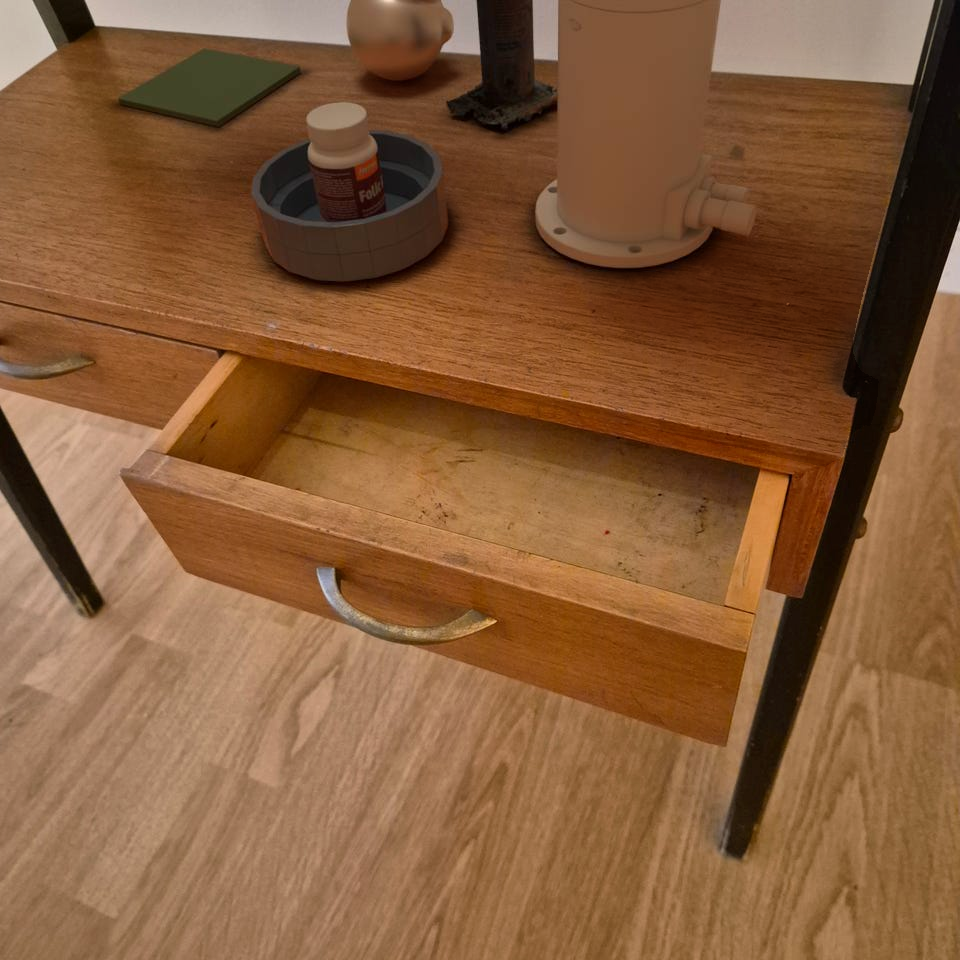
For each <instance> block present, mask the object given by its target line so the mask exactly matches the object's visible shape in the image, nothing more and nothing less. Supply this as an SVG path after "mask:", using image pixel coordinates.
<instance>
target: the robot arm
mask: <svg viewBox="0 0 960 960" xmlns="http://www.w3.org/2000/svg"><path fill="white" fill-rule="evenodd" d="M721 1H722V0H557V89H558V104H557V118H556V119H557V121H556V122H557V127H556V128H557V129H556V131H557V134H556V137H557V138H556V139H557V141H556V142H557V144H556V161H557V162H556V178H555V180H553V181H552V182H551V183H549V184H547V186H545V188H544V189H543V190H542V191H541V193H540V194H539V195H538V198H537V200H536V202H535V211H534V214H535V215H534V219H535V227H536V230H537V231H538V234H539V236H540V237H541V238H542V239H543V241H544V242H545V243H546V244H547V245H548V246H550V247H551V248H552V249H553V250H555V251H557V252H558V253H560V254H562V255H564V256H566V257H568V258H569V259H572V260H575V261H577V262H581V263H584V264H586V265H593V266H598V267H602V268H611V269H613V268H614V269H640V268H647V267H656V266H659V265H664V264H667V263H670V262H674V261H676V260H679V259H680V258H683V257H685V256H687V255H689V254H691V253H692V252H694V251H696V250H697V249H698V248H700V247H701V246H703V244H704V243H705V242H706V241H707V240H708V239H709V236H710V235H711V234H712V231H713V230H714V228H716V229H720V230H721V231H725V232H729V233H733V234H738V235H743V236H746V237H748V236H749V235H750V234H751V232H752V229H753V227H754V224H755V221H756V217H757V212H758V206H757V205H755V204H749V203H747V202H748V200H749V196H750V195H749V194H750V188H749V187H746V186H741V185H735V184H725V183H720V182H717V178H715V177H713V176H711V172H712V171H711V170H712V164H713V158H714V157H713V155H711V154H705V153H702V152H701V151H702V145H703V137H704V129H705V122H706V116H707V115H706V113H707V109H708V108H707V107H708V99H709V93H710V85H711V78H712V70H713V61H714V55H715V47H716V39H717V32H718V25H719V17H720V9H721Z"/></svg>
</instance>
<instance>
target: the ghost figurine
mask: <svg viewBox="0 0 960 960" xmlns="http://www.w3.org/2000/svg"><path fill="white" fill-rule="evenodd" d="M345 25H346V34H347V38H348V42H349V45H350V47H351V50H352V52H353V54H354V55H355V57H356V58H357V60H358V61H359V62H360V64H361V65H362V66H363V67H364V68H365V69H367V70H368V71H369V72H370V73H372V74H373V75H376V76H377V77H379V78H381V79H385V80H388V81H395V82H396V81H397V82H400V81H402V82H403V81H408V80H412V79H415V78H417V77H419V76H420V75H422V74H424V73H425V72H426V71H428V70H429V69H430V68H431V66H432V65H433V64H434V62H435V61H436V60H437V58H438V56H439V55H440V53H441V51H442V48H443V46H444V45H445V44H446V43H447V42H449V41H450V40H451V38H452V37H453V35H454V30H455V27H454V25H455V24H454V17H453V15H452V13H451V11H450V10H449V9H447V8H446V7H445V6H444V4H443V2H442V0H350V1H349V4H348V8H347V12H346V24H345Z"/></svg>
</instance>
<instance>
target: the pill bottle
mask: <svg viewBox="0 0 960 960" xmlns="http://www.w3.org/2000/svg"><path fill="white" fill-rule="evenodd" d="M305 123H306V127H307V134H308V139H310V141H311V143H310V145H309V148H308V160H309V164H310V169H311V173H312V178H313V182H314V187H315V191H316V196H317V201H318V205H319V211H320V215H321V220H322V222H342V221H350V220H359V219H365V218H368V217H372V216H375V215H379V214H382V213H386V212H387V208H386V201H385V195H384V187H383V181H382V175H381V168H380V160H379V153H378V147H377V144H376V141H375V140H374V138H373V137H372V136H371V135H369V130H370V123H369V119H368V113H367V110H366V109H365V107H364V106H362V105H360V104H357V103H353V102H347V101H346V102H344V101H341V102H340V101H339V102H331V103H327V104H323V105H320V106H317V107H316V108H314V109H312V110H311V111H310V112H308V114H307V116H306V120H305Z"/></svg>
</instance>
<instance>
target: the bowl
mask: <svg viewBox="0 0 960 960" xmlns="http://www.w3.org/2000/svg"><path fill="white" fill-rule="evenodd" d="M369 135H371V136H372V137H373V138H374V140H375V141H376V144H377V147H378V153H379V160H380V168H381V175H382V181H383V187H384V195H385V201H386V208H387V212H386V213H382V214H379V215H375V216H372V217H368V218H365V219H359V220H350V221H342V222H322V220H321V215H320V211H319V205H318V201H317V196H316V191H315V187H314V182H313V178H312V173H311V169H310V164H309V160H308V148H309V145H310V143H311V141H310V138H306V139H303V140H301V141H299V142H297V143H294V144H292V145H290V146H287V147H285V148H283V149H281V150H280V151H278V152H277V153H276V154H274V155H272V156H271V157H270V158H268V159H267V160H266V161H264V162H263V163H262V164H261V166H260V168H259V169H258V170H257V172H256V173H255V174H254V176H253V177H252V181H251V182H252V183H251V191H250V194H251V199H252V202H253V205H254V209H255V213H256V217H257V220H258V224H259V228H260V231H261V235H262V239H263V242H264V247H265V248H266V250H267V252H268V253H269V256H270V257H271V259H272V261H273V262H274V263H276V264H278V265H279V266H280V267H282V269H285V271H287V272H289V273H291V274H295V275H298V276H300V277H301V276H302V277H305V278H308V279H311V280H315V281H325V282H326V281H327V282H341V283H343V282H352V281H361V280H368V279H369V280H370V279H377V278H380V277H383V276H386V275H390V274H393V273H396V272H399V271H403V270H405V269H406V268H408V267H410V266H412V265H414V264H416V263H417V262H419V261H421V260H423V259H425V258H426V257H428V255H430V253H432V252H433V251H434V250H435V249H436V248H437V247H438V246H439V244H440V243H441V242H443V239H444V237H445V235H446V231H447V229H448V226H449V217H448V216H449V215H448V207H447V206H448V205H447V196H446V186H445V184H446V183H445V175H444V167H443V163H442V162H443V161H442V157H441V156H440V155H439V154H438V153H437V152H436V150H435V149H434V148H433V147H432V146H431V145H430V144H429V143H427V142H425V141H423V140H421V139H418V138H417V137H415V136H412V135H410V134H406V133H401V132H396V131H391V130H386V129H385V130H384V129H369Z"/></svg>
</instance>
